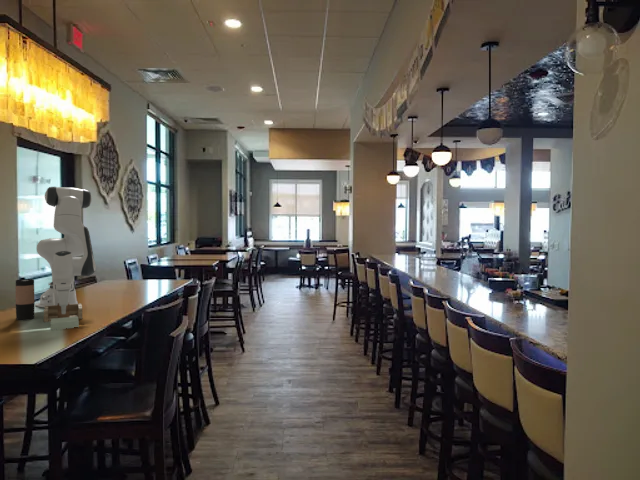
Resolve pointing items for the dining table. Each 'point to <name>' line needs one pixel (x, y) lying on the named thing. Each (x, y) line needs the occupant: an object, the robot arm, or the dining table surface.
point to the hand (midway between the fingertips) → (63, 312)
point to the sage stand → (64, 323)
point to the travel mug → (25, 299)
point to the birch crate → (52, 312)
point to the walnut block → (61, 312)
